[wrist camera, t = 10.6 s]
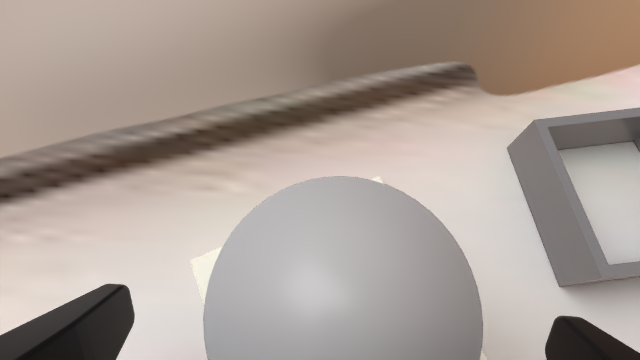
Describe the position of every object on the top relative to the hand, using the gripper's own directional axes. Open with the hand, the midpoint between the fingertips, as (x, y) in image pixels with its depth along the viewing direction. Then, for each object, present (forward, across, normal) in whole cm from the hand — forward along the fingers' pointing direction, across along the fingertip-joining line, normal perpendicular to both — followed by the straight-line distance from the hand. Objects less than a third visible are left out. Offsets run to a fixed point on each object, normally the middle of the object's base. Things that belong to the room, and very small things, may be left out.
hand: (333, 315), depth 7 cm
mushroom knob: (+7, 0, +7) cm, 10 cm away
